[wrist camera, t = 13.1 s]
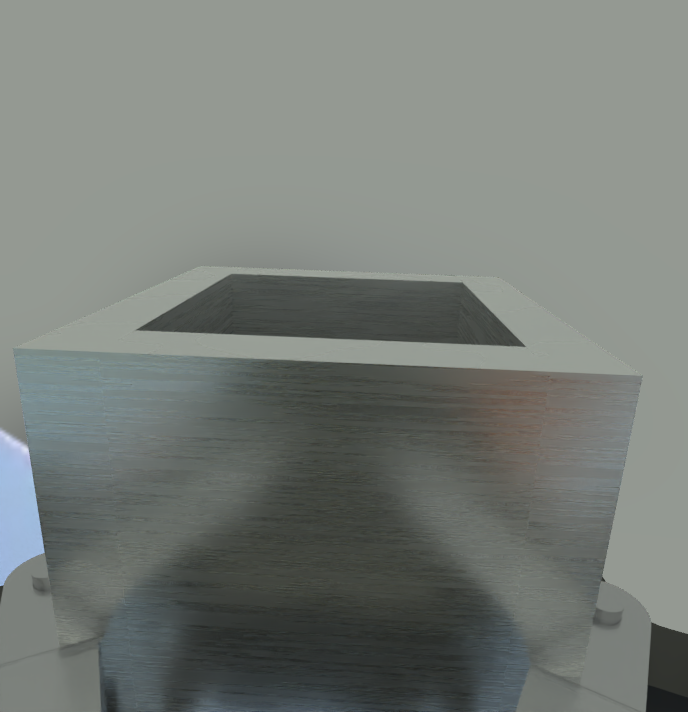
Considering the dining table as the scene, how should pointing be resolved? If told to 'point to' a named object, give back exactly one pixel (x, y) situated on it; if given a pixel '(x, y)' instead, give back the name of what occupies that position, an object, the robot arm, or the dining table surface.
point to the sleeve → (325, 489)
